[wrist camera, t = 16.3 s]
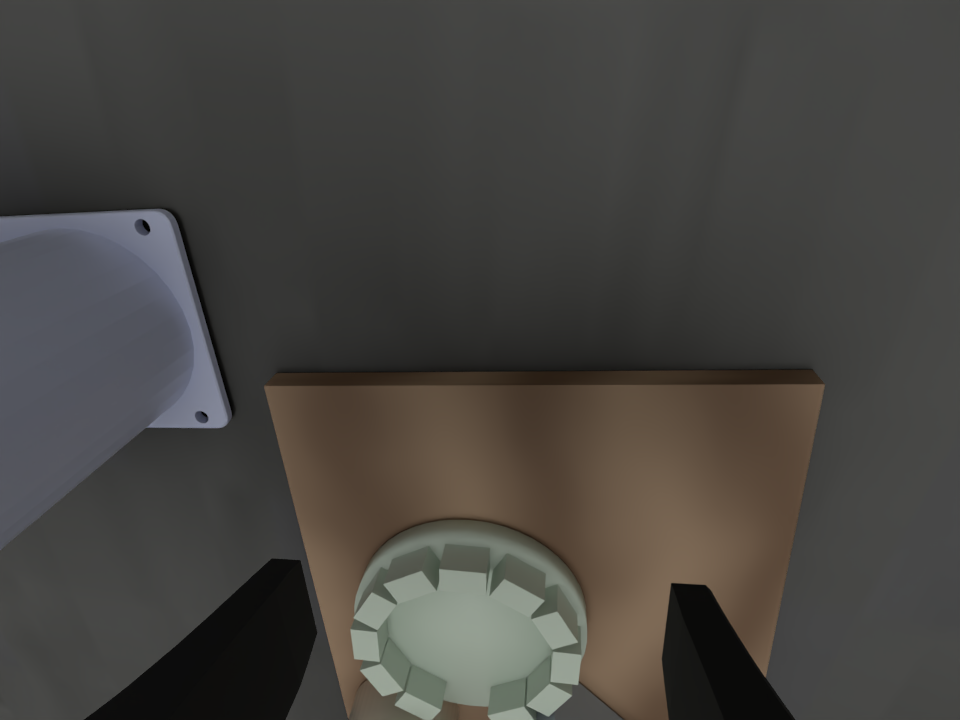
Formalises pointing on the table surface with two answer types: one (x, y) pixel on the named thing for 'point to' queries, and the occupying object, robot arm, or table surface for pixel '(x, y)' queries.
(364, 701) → the cream round-ended cylinder
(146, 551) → the table surface
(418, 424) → the walnut board
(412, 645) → the turntable
